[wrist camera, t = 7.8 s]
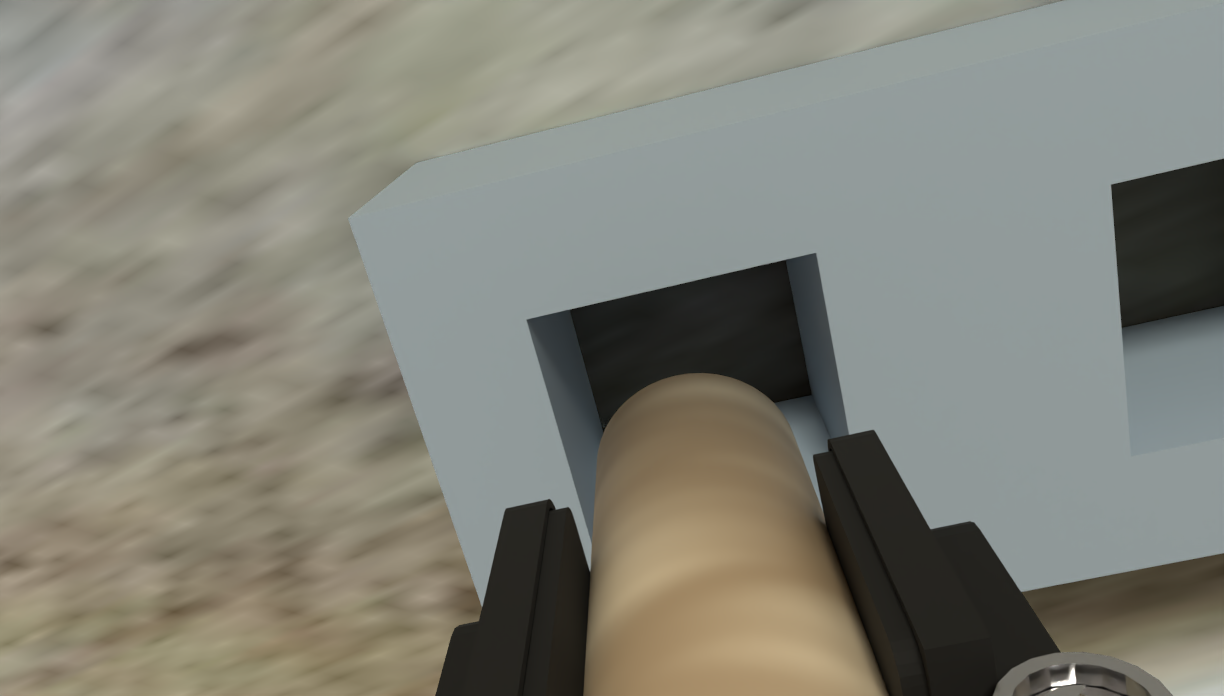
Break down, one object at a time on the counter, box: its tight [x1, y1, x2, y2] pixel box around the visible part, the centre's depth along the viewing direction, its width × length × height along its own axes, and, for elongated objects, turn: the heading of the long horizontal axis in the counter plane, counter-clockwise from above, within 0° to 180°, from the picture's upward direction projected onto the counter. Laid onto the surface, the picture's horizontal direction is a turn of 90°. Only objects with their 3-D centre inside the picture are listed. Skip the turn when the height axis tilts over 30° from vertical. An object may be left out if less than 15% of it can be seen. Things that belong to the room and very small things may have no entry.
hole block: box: [348, 0, 1224, 606], centre depth 18 cm, size 18×9×5 cm, turn 104°
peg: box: [583, 373, 889, 696], centre depth 10 cm, size 3×3×10 cm
